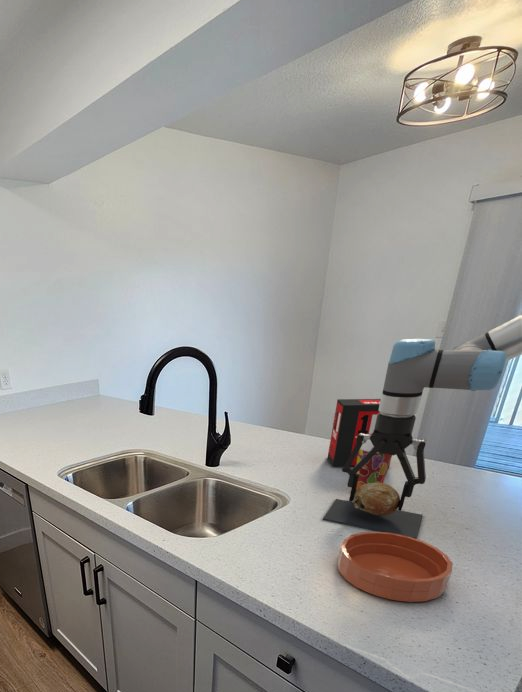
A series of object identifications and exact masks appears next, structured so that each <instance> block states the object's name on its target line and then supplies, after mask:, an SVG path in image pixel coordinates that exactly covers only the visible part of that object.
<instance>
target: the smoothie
mask: <svg viewBox="0 0 522 692" xmlns="http://www.w3.org/2000/svg"><path fill="white" fill-rule="evenodd" d="M373 447H374V446H373V444H372V442H371V441H370V440H367V442H366V443H364V444H363V445H362V446H361V448H360V450H359V452H358V456H357V464H358V463H359V462H360V461H361V460H362V459H363V458H364V457H365V456H366V454H367V453H368V452H369V451H370V450H371V449H372V448H373ZM392 457H393V455H389V454H379V453H378V452H377V453H376V454H375V455H374V456H373V457H372V458H371V459H370V460H369V461H368V462H367V463H366V464H365V465H364V466H363V467H362V468H361V469H360V470H359V471H358V472H357V473H356V474H359V479H358V483H357V488H356V490H357V489H358V488H359V487H360V486H362V485H364V484H369V483H385V479H386V476H387V473H388V470H389V468H390V465H391V462H392ZM357 464H356V465H357ZM389 464H390V465H389ZM388 467H389V468H388Z"/></svg>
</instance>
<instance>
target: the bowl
mask: <svg viewBox="0 0 522 692" xmlns="http://www.w3.org/2000/svg"><path fill="white" fill-rule="evenodd" d="M336 564H337V569H338V572H339V574H340V575H341V576H342V577H343V578H344V580H346V581H347V582H348V583H350V584H351V585H353V586H354V587H356V588H357V589H360V590H362V591H364V592H366V593H369V594H370V595H373V596H376V597H379V598H384V599H387V600H390V601H391V600H393V601H398V602H408V603H414V602H415V603H416V602H427V601H432V600H434V599H437V598H440V596H442V594H443V593H445V591H446V590H447V586H448V583H449V581H450V579H451V576H452V572H453V565H454V564H453V562H452V560H451V559H450V558H449V556H448V555H447V554H445V553H444V552H443V551H442V550H441V549H439V548H438V547H436V546H434V545H432V544H430V543H428V542H426V541H424V540H421V539H418V538H416V539H415V538H412V537H409V536H404V535H400V534H395V533H388V532H379V531H362V532H357V533H353V534H351V535H349V536H347V537H346V538H343V541H342V543H341V544H340V548H339V553H338V558H337V562H336Z"/></svg>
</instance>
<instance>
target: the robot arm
mask: <svg viewBox="0 0 522 692" xmlns="http://www.w3.org/2000/svg"><path fill="white" fill-rule="evenodd" d="M521 355H522V314H520V315H518V316H515V317H514V318H512V319H510V320H508V321H506V322H504V323H502V324H500V325H498V326H497V327H495V328H492V329H490V330H489V331H487V332H486V333H483V334H481V335H479V336H477V337H475V338H473V339H471V340H469V341H464V342H462V343H460V344H458V345H456V346H455V347H453V348H452V349H437V348H436V341H435V340H434V339H432V338H403V339H400V340H398V341H396V342H395V343H394V344H393V345H392V350H391V353H390V357H389V361H388V363H387V368H386V369H387V370H386V374H385V378H384V383H383V388H382V392H381V396H380V399H381V400H380V405H379V411H380V412H381V413H379V414H378V415H377V419H376V423H375V428H374V432H373V433H372V434H364V433H360V434H359V435H358V436H357V441H356V445H355V447H354V449H353V451H352V453H351V454H350V456H349V458H348V460H347V462H346V463H345V465H344V467H342V468H341V471H342V473H346V474H348V480H347V488H351V489H350V495H349V498H348V501H351V502H354V494H355V492H356V488H357V483H358V479H359V474H356V473H357V472H358V471H359V470H360V469H361V468H362V467H363V466H364V465H365V464H366V463H367V462H368V461H369V460H370V459H371V458H372V457H373V456H374V455H375V454H376V453H377V452H378V453H379V454H389V455H392V456H396V457H397V460H398V461H399V464H400V465H401V468H402V471H403V473H404V476H405V478H406V480H405V482H404V484H403V488H402V492H401V495H400V503H399V506H398V508H397V510H400V511H403V510H402V508H403V506H404V503H405V499H406V498H411V497H412V495H413V492H414V488H415V487H416V485H424V484H425V482H426V479H427V477H426V475H427V473H426V461H425V448H426V444H427V439H425V438H422V439H416V438H413V436H412V435H413V432H414V431H413V430H414V427H415V423H416V419H417V417H416V414H417V413H418V411H419V408H420V404H421V401H422V397H423V396H422V395H423V393H424V392H423V391H424V389H425V388H428V389H446V390H447V389H448V390H462V391H463V390H464V391H471V392H475V391H491V390H494V389H496V387H497V386H498V384H499V383H500V379H501V377H502V374H503V371H504V368H505V364H506V362H508V361H511V360H513V359H515V358H517V357H519V356H521ZM367 440H370V441H371V442H372V444H373V446H374V447H373V448H372V449H371V450H370V451H369V452H368V453H367V454H366V456H365V457H364V458H363V459H362V460H361V461H360V462H359V463H358V464H357V465H356V466H355V467H350V466H351V464H352V462H353V461H354V459H355V457H356V455H357V453H358V452H359V450H360V448H361V446H362V445H363V444H364V443H366V442H367ZM411 445H412V446H413V450H416V453H415V456H416V467H417V468H416V469H417V476H416V475H415V473H414V471H413V467H412V466H411V463H410V461H409V458H408V456H407V453H406V449H407V448H408V447H410V446H411Z"/></svg>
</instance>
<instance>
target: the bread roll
mask: <svg viewBox="0 0 522 692" xmlns="http://www.w3.org/2000/svg"><path fill="white" fill-rule="evenodd" d="M400 499H401V495H400V494H399V492H398V491H397V490H396V489H395V488H394V487H393V486H391V485H390V484H387V483H385V482H384V483H369V484H364V485H362V486H360V487H359V488H358V489H357V490H356V492H355V494H354V499H353V501H352V502H353V503H354V505H355V508H358V509H360V510H363V511H365V512H369V513H371V514H375V515H388V514H392V513H393V512H395V511H396V510H398V506H399V503H400Z"/></svg>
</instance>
